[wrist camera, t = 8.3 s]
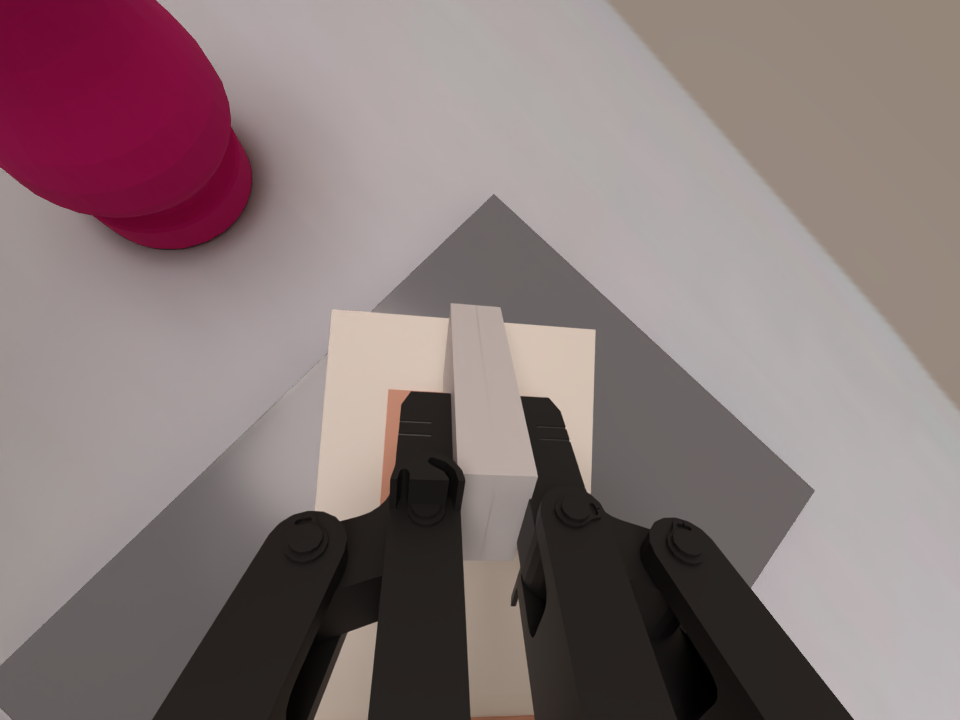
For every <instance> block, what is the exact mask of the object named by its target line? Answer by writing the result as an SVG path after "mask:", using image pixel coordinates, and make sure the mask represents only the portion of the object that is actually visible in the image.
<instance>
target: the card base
mask: <svg viewBox="0 0 960 720" xmlns="http://www.w3.org/2000/svg"><path fill="white" fill-rule="evenodd" d="M369 702H370V699H338V700H321V702H320V705H319V708H318V710H317V713H316V715H315V718H314V720H368V712H369ZM470 715H471V720H535V718H534V710H533V703H532V696H531V694H510V695H475V696H470Z"/></svg>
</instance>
